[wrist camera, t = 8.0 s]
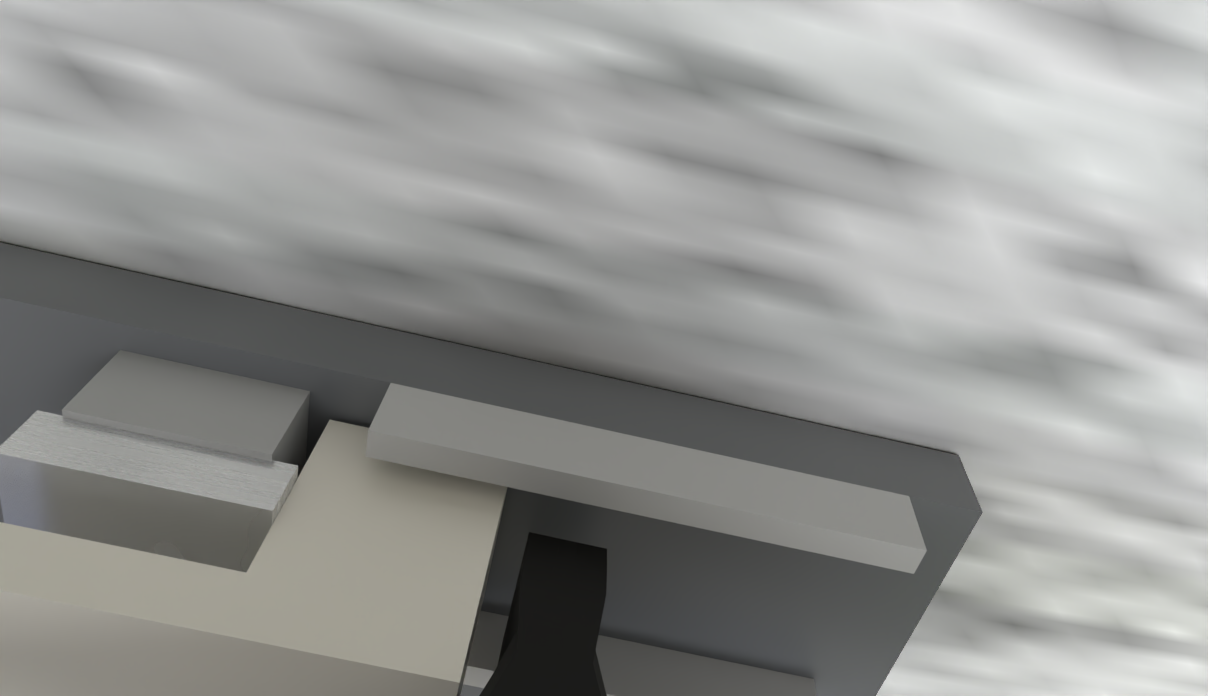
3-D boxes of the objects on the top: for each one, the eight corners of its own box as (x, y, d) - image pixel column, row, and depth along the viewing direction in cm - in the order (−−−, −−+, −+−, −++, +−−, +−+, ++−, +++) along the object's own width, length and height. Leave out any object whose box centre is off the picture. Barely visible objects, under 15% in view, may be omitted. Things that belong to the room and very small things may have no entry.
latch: (483, 597, 13) (428, 830, 10) (107, 519, 13) (-61, 737, 10) (512, 459, 12) (458, 682, 9) (94, 368, 12) (-106, 569, 9)
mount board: (734, 871, 19) (745, 1096, 16) (-173, 696, 18) (-362, 899, 15) (958, 454, 13) (1051, 676, 10) (-359, 162, 12) (-738, 301, 9)
